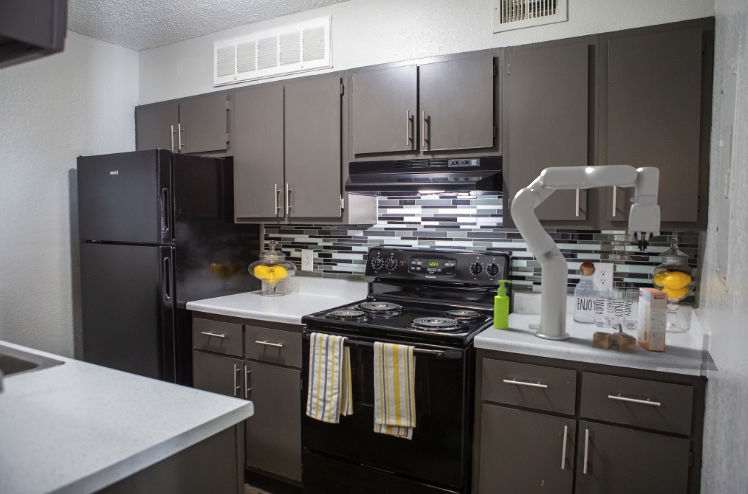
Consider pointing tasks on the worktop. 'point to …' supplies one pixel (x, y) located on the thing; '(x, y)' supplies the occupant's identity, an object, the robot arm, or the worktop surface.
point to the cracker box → (652, 319)
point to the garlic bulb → (614, 335)
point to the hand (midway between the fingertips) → (642, 250)
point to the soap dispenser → (501, 307)
